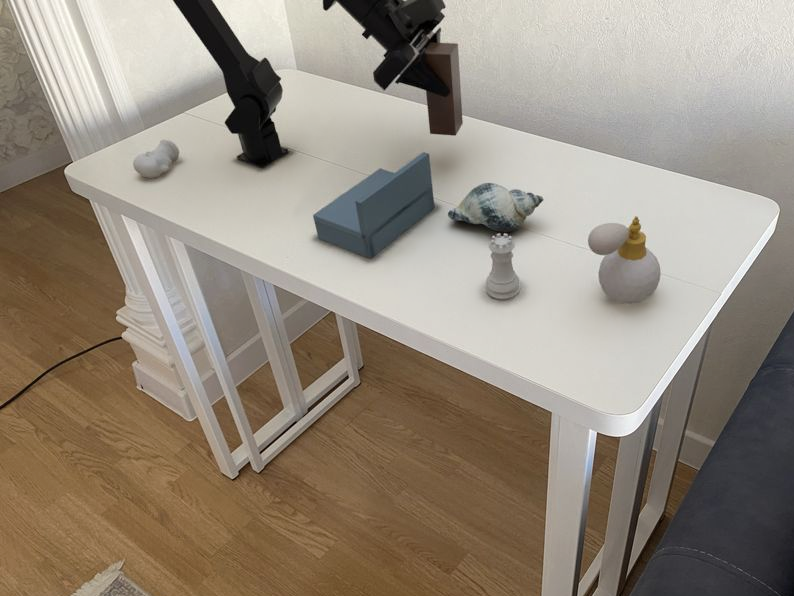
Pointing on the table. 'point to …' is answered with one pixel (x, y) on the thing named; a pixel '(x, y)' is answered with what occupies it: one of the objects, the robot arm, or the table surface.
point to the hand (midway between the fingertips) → (452, 88)
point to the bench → (378, 208)
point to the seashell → (496, 207)
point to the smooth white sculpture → (156, 159)
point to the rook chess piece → (502, 269)
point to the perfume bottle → (625, 262)
